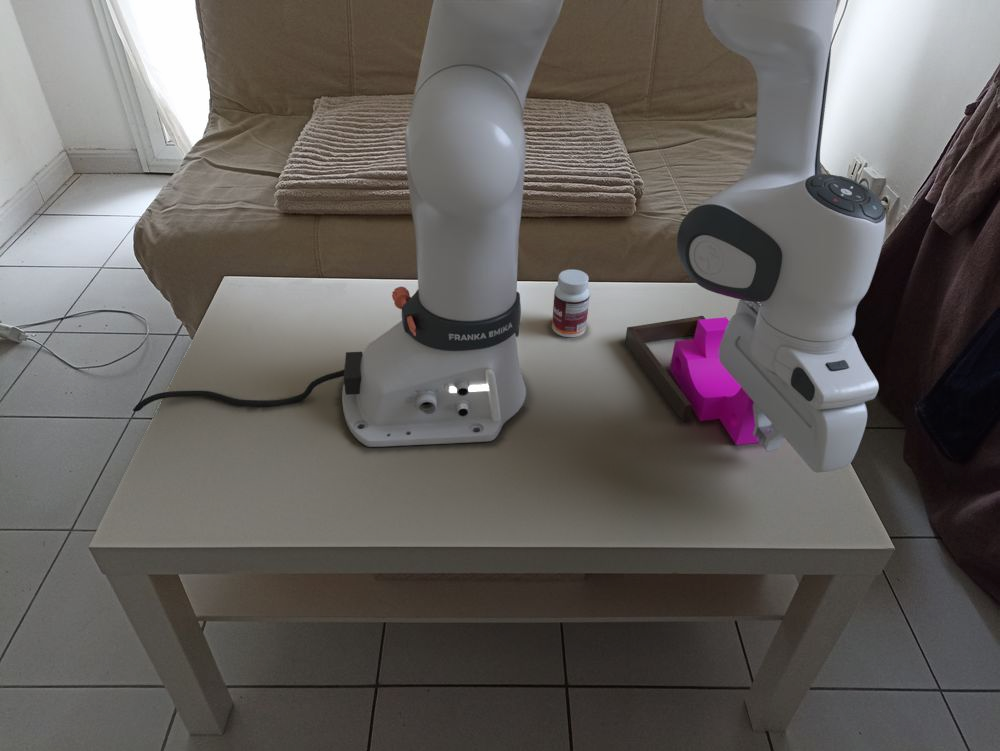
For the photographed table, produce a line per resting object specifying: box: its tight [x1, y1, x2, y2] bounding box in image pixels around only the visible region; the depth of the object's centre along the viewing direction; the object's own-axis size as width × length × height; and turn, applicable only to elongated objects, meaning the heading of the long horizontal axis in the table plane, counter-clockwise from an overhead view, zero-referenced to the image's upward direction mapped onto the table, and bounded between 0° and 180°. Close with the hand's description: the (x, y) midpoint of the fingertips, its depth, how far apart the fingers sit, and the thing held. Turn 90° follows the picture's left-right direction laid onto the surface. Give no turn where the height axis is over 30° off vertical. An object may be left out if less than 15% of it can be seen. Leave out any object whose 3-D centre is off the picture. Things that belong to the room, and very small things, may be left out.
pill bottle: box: [551, 268, 591, 338], centre depth 102 cm, size 5×5×8 cm
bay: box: [624, 315, 706, 422], centre depth 97 cm, size 11×17×2 cm
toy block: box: [669, 316, 760, 446], centre depth 90 cm, size 15×6×8 cm, turn 10°
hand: (765, 442), depth 83 cm, fingers closed
